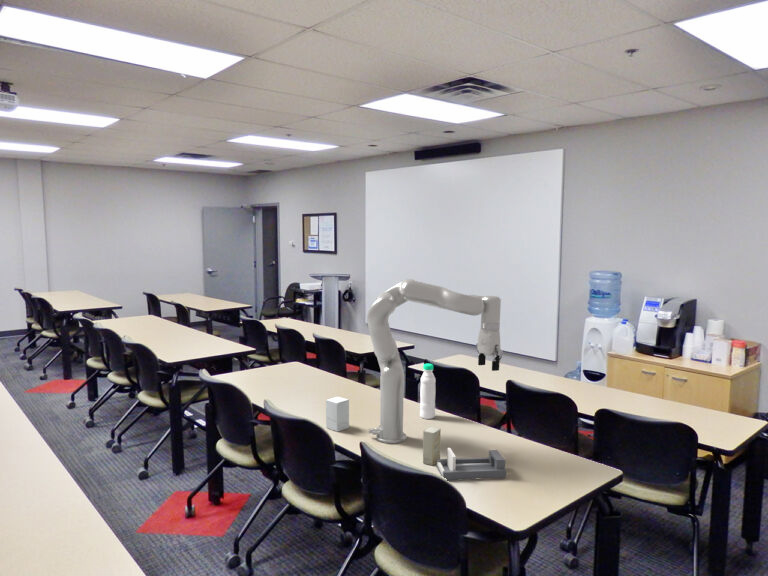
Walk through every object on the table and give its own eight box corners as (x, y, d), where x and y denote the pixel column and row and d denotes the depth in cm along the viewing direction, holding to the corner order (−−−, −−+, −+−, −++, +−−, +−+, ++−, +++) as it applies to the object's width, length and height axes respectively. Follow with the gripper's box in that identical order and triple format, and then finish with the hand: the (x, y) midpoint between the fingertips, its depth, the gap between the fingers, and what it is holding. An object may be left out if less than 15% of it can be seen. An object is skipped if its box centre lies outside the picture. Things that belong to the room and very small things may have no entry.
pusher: (452, 474, 177) (452, 457, 176) (447, 464, 185) (447, 447, 184) (494, 472, 179) (495, 455, 178) (487, 463, 187) (488, 446, 186)
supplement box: (349, 427, 225) (349, 399, 224) (336, 432, 219) (336, 403, 218) (338, 423, 230) (338, 395, 229) (325, 427, 224) (325, 399, 223)
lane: (443, 480, 175) (443, 463, 175) (436, 466, 186) (437, 450, 186) (505, 478, 178) (506, 461, 177) (495, 464, 189) (496, 448, 188)
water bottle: (424, 420, 235) (425, 366, 233) (416, 415, 241) (417, 363, 239) (437, 418, 238) (439, 365, 236) (429, 413, 245) (430, 361, 243)
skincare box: (433, 466, 187) (433, 433, 186) (422, 463, 189) (422, 431, 188) (440, 460, 192) (441, 428, 191) (429, 457, 194) (430, 426, 193)
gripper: (470, 323, 216) (469, 363, 217) (494, 330, 200) (493, 373, 201) (485, 322, 219) (484, 362, 220) (510, 329, 203) (508, 372, 204)
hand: (488, 367), depth 211 cm, fingers open, 9 cm apart
